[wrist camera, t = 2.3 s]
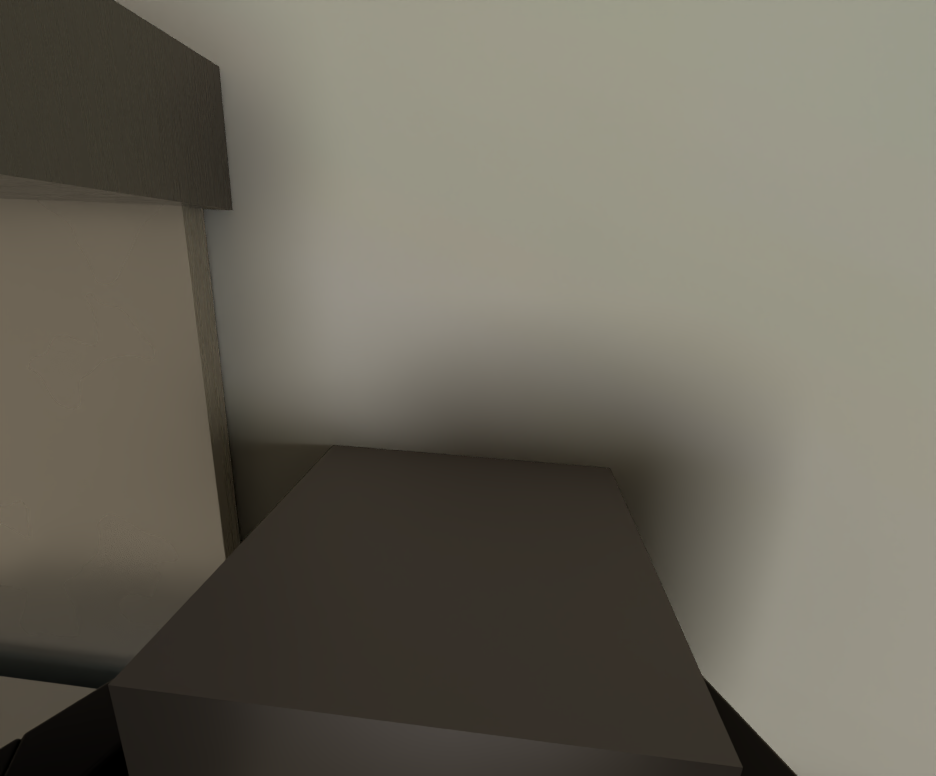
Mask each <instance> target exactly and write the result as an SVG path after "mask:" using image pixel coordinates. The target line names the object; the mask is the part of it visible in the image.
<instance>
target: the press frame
mask: <svg viewBox="0 0 936 776" xmlns="http://www.w3.org/2000/svg"><path fill="white" fill-rule="evenodd" d="M203 209H218V210H232V200H231V189H230V178H229V168H228V157H227V147H226V136H225V125H224V115H223V104H222V94H221V83H220V73H219V66H217V65H215V64H214V63H212V62H211V61H209V60H207V59H206V58H204V57H203V56H201V55H200V54H198V53H196V52H195V51H193V50H192V49H190V48H188V47H187V46H185V45H184V44H182V43H181V42H179V41H177V40H176V39H174V38H173V37H171V36H169V35H168V34H166V33H165V32H163V31H161V30H160V29H158V28H157V27H155V26H154V25H152V24H150V23H149V22H147V21H146V20H144V19H142V18H141V17H139V16H138V15H136V14H135V13H133V12H131V11H130V10H128V9H127V8H125V7H123V6H122V5H120V4H119V3H117V2H116V1H114V0H0V676H4V677H11V678H19V679H26V680H34V681H41V682H49V683H56V684H64V685H71V686H79V687H86V688H94V689H98V688H99V687H101V686H103V685H104V684H106V683H108V682H109V681H111V680H112V679H114V678H115V677H116V676H117V675H118V674H119V673H120V672H121V671H122V670H123V668H124V667H125V666H126V665H127V664H128V663H129V662H130V661H131V660H132V659H133V658H134V657H135V656H136V655H137V654H138V652H139V651H140V650H141V649H142V648H143V647H144V646H145V645H146V644H147V643H148V642H149V641H150V640H151V639H152V638H153V637H154V635H155V634H156V633H157V632H158V631H159V630H160V629H161V628H162V627H163V626H164V625H165V624H166V623H167V622H168V621H169V620H170V618H171V617H172V616H173V615H174V614H175V613H176V612H177V611H178V610H179V609H180V608H181V607H182V606H183V605H184V604H185V602H186V601H187V600H188V599H189V598H190V597H191V596H192V595H193V594H194V593H195V592H196V591H197V590H198V589H199V588H200V587H201V585H202V584H203V583H204V582H205V581H206V580H207V579H208V578H209V577H210V576H211V575H212V574H213V573H214V572H215V571H216V570H217V568H218V567H219V566H220V565H221V564H222V563H223V562H224V561H225V560H226V559H227V558H228V557H229V556H230V555H231V554H232V552H233V551H234V550H235V549H236V548H237V547H238V546H239V545H240V535H239V526H238V517H237V508H236V499H235V490H234V481H233V472H232V463H231V454H230V445H229V436H228V427H227V418H226V410H225V401H224V392H223V383H222V374H221V365H220V356H219V347H218V338H217V329H216V320H215V311H214V302H213V293H212V284H211V275H210V266H209V257H208V248H207V239H206V230H205V221H204V212H203Z"/></svg>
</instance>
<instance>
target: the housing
mask: <svg viewBox="0 0 936 776" xmlns="http://www.w3.org/2000/svg"><path fill="white" fill-rule="evenodd" d="M108 687H109V691H110V696H111V700H112V704H113V709H114V713H115V717H116V722H117V726H118V730H119V735H120V739H121V743H122V748H123V752H124V756H125V760H126V765H127V769H128V773H129V776H741V772H742V769H743V767H742V764H741V762H740V760H739V758H738V755H737V753H736V751H735V749H734V746H733V744H732V742H731V740H730V737H729V735H728V733H727V731H726V728H725V726H724V724H723V722H722V719H721V717H720V715H719V713H718V710H717V708H716V706H715V704H714V701H713V699H712V697H711V695H710V692H709V690H708V688H707V686H706V683H705V681H704V679H703V677H702V674H701V672H700V670H699V668H698V665H697V663H696V661H695V659H694V656H693V654H692V652H691V650H690V647H689V645H688V643H687V641H686V638H685V636H684V634H683V632H682V629H681V627H680V625H679V623H678V620H677V618H676V616H675V614H674V611H673V609H672V607H671V605H670V602H669V600H668V598H667V596H666V593H665V591H664V589H663V587H662V584H661V582H660V580H659V578H658V575H657V573H656V571H655V569H654V566H653V564H652V562H651V560H650V557H649V555H648V553H647V551H646V548H645V546H644V544H643V542H642V539H641V537H640V535H639V533H638V530H637V528H636V526H635V524H634V521H633V519H632V517H631V515H630V512H629V510H628V508H627V506H626V503H625V501H624V499H623V496H622V494H621V492H620V490H619V487H618V485H617V483H616V481H615V478H614V476H613V474H612V472H611V469H610V468H603V467H591V466H579V465H567V464H555V463H543V462H531V461H519V460H507V459H495V458H483V457H471V456H459V455H447V454H435V453H423V452H411V451H399V450H387V449H375V448H363V447H351V446H339V445H333V446H332V447H331V448H330V449H329V450H328V451H327V453H326V454H325V455H324V456H323V457H322V458H321V459H320V460H319V461H318V462H317V463H316V464H315V465H314V466H313V467H312V468H311V470H310V471H309V472H308V473H307V474H306V475H305V476H304V477H303V478H302V479H301V480H300V481H299V482H298V483H297V484H296V485H295V487H294V488H293V489H292V490H291V491H290V492H289V493H288V494H287V495H286V496H285V497H284V498H283V499H282V500H281V501H280V502H279V504H278V505H277V506H276V507H275V508H274V509H273V510H272V511H271V512H270V513H269V514H268V515H267V516H266V517H265V518H264V520H263V521H262V522H261V523H260V524H259V525H258V526H257V527H256V528H255V529H254V530H253V531H252V532H251V533H250V534H249V535H248V537H247V538H246V539H245V540H244V541H243V542H242V543H241V544H240V545H239V546H238V547H237V548H236V549H235V550H234V551H233V552H232V554H231V555H230V556H229V557H228V558H227V559H226V560H225V561H224V562H223V563H222V564H221V565H220V566H219V567H218V568H217V570H216V571H215V572H214V573H213V574H212V575H211V576H210V577H209V578H208V579H207V580H206V581H205V582H204V583H203V584H202V585H201V587H200V588H199V589H198V590H197V591H196V592H195V593H194V594H193V595H192V596H191V597H190V598H189V599H188V600H187V601H186V602H185V604H184V605H183V606H182V607H181V608H180V609H179V610H178V611H177V612H176V613H175V614H174V615H173V616H172V617H171V618H170V620H169V621H168V622H167V623H166V624H165V625H164V626H163V627H162V628H161V629H160V630H159V631H158V632H157V633H156V634H155V635H154V637H153V638H152V639H151V640H150V641H149V642H148V643H147V644H146V645H145V646H144V647H143V648H142V649H141V650H140V651H139V652H138V654H137V655H136V656H135V657H134V658H133V659H132V660H131V661H130V662H129V663H128V664H127V665H126V666H125V667H124V668H123V670H122V671H121V672H120V673H119V674H118V675H117V676H116V677H115V678H114V679H113V680H112V681H111V682H110V683H109V684H108Z"/></svg>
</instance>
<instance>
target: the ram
mask: <svg viewBox="0 0 936 776" xmlns="http://www.w3.org/2000/svg"><path fill="white" fill-rule="evenodd" d="M95 690H96V689H94V688H86V687H79V686H71V685H64V684H56V683H49V682H41V681H34V680H26V679H19V678H11V677H4V676H0V748H2V747H3V746H5V745H6V744H8V743H10V742H11V741H13V740H15V739H17V738H19V739H22V737H23V735H24V734H25V733H26V732H28V731H30V730H31V729H33V728H34V727H36V726H38V725H39V724H41V723H43V722H44V721H46V720H47V719H49V718H51V717H52V716H54V715H56V714H57V713H59V712H60V711H62V710H64V709H65V708H67V707H69V706H70V705H72V704H73V703H75V702H77V701H78V700H80V699H82V698H83V697H85V696H86V695H88V694H90V693H91V692H93V691H95Z"/></svg>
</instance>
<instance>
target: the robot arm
mask: <svg viewBox="0 0 936 776" xmlns="http://www.w3.org/2000/svg"><path fill="white" fill-rule="evenodd" d="M702 677H703V676H702ZM703 679H704V681H705V683H706V686H707V688H708V690H709V692H710V695H711V697H712V699H713V701H714V704H715V706H716V708H717V710H718V713H719V715H720V717H721V719H722V722H723V724H724V726H725V728H726V731H727V733H728V735H729V737H730V740H731V742H732V744H733V746H734V749H735V751H736V753H737V755H738V758H739V760H740V762H741V764H742V767H743V769H742V772H741V776H797V775H796V774H795V773H794V772H793V771H792V770H791V768H790V767H789V766H788V765H787V764H786V763H785V762H784V761H783V760H782V759H781V758H780V757H779V756H778V755H777V754H776V753H775V752H774V751H773V750H772V749H771V747H770V746H769V745H768V744H767V743H766V742H765V741H764V740H763V739H762V738H761V737H760V736H759V735H758V734H757V733H756V732H755V731H754V730H753V729H752V727H751V726H750V725H749V724H748V723H747V722H746V721H745V720H744V719H743V718H742V717H741V716H740V715H739V714H738V713H737V712H736V711H735V710H734V709H733V707H732V706H731V705H730V704H729V703H728V702H727V701H726V700H725V699H724V698H723V697H722V696H721V695H720V694H719V693H718V692H717V691H716V690H715V689H714V688H713V686H712V685H711V684H710V683H709V682H708V681H707V680H706V679H705V678H704V677H703ZM112 680H113V679H112ZM112 680H111V681H112ZM111 681H109V682H108V683H106V684H104V685H103V686H101V687H99V688H98V689H96V690H95V691H93V692H91V693H90V694H88V695H86V696H85V697H83V698H82V699H80V700H78V701H77V702H75V703H73V704H72V705H70V706H69V707H67V708H65V709H64V710H62V711H60V712H59V713H57V714H56V715H54V716H52V717H51V718H49V719H47V720H46V721H44V722H43V723H41V724H39V725H38V726H36V727H34V728H33V729H31V730H30V731H28V732H26V733H25V734H24V735H23V737H22V739H19V738H17V739H15V740H13V741H11V742H10V743H8V744H6V745H5V746H3V747H2V748H0V776H129V773H128V769H127V765H126V760H125V756H124V752H123V748H122V743H121V739H120V735H119V730H118V726H117V722H116V717H115V713H114V709H113V704H112V700H111V696H110V691H109V687H108V684H109V683H110V682H111Z"/></svg>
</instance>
